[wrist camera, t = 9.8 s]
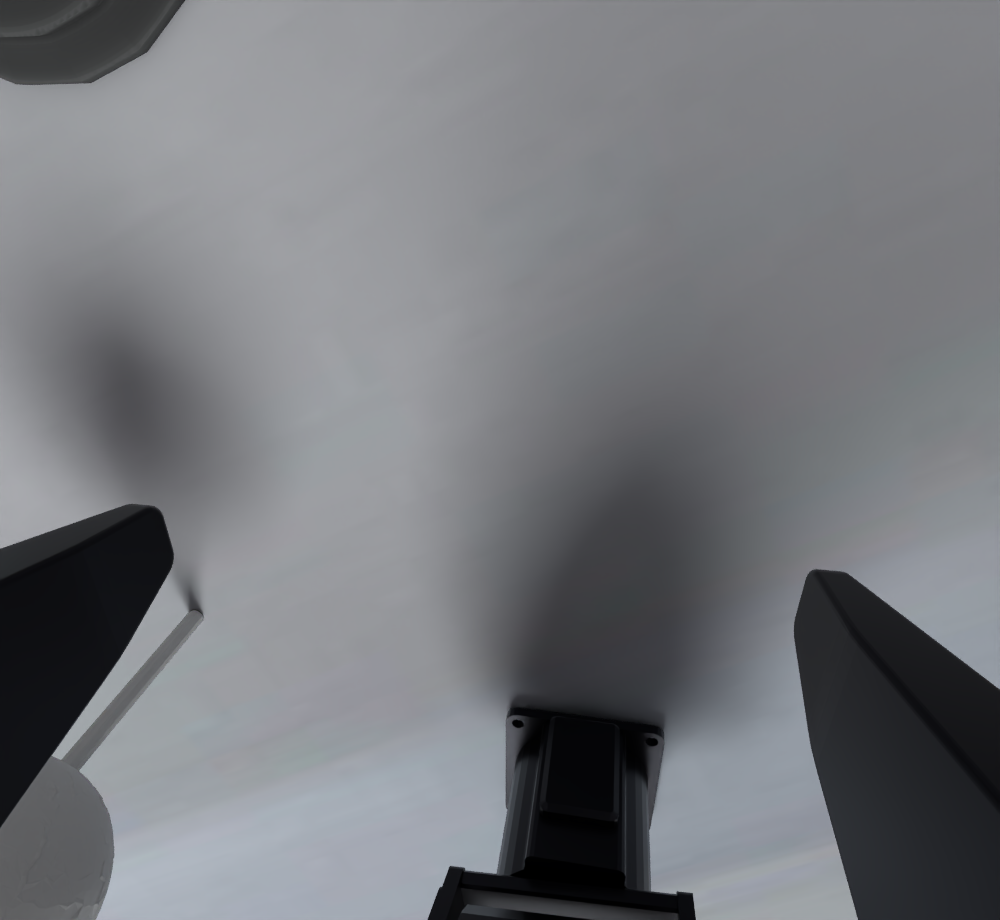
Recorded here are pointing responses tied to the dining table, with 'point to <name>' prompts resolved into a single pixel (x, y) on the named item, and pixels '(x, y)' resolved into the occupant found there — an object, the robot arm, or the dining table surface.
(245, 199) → the dining table surface
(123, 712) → the lollipop
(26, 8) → the figurine
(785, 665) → the dining table surface
